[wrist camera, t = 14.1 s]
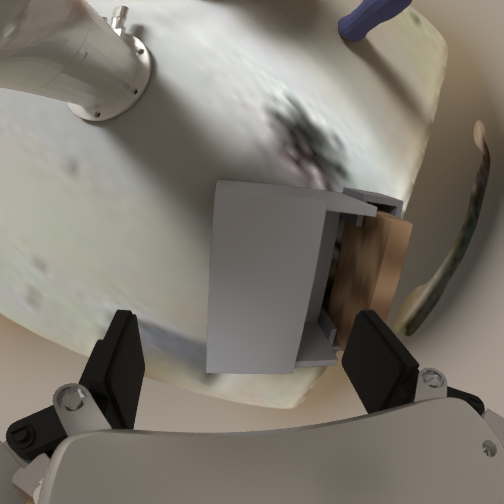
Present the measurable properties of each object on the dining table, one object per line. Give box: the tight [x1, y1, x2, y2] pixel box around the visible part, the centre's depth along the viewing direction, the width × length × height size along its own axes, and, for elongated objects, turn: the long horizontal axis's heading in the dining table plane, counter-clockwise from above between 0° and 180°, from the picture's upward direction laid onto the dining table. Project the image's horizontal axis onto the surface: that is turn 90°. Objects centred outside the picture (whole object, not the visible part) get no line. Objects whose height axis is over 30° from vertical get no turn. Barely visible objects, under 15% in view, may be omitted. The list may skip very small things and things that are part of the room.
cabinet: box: [207, 179, 403, 374], centre depth 33 cm, size 22×22×11 cm
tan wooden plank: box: [326, 209, 413, 351], centre depth 35 cm, size 18×4×11 cm, turn 174°
